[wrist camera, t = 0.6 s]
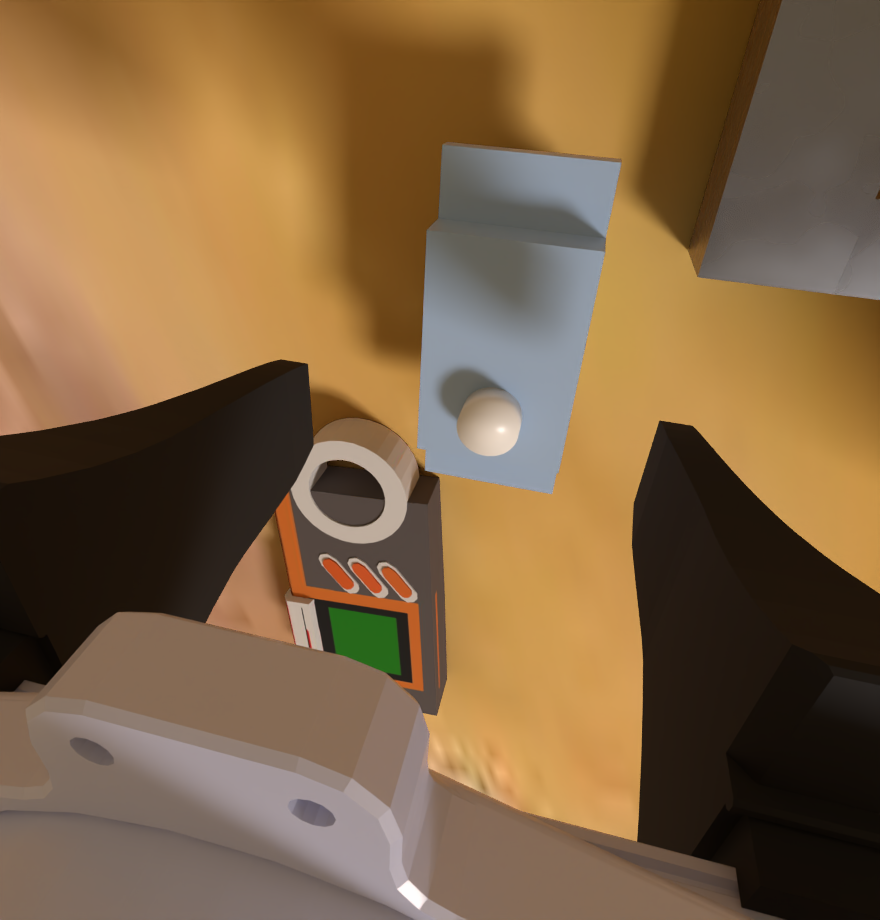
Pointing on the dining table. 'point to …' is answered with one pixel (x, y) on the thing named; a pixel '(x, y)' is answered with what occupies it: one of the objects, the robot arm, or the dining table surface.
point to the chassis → (800, 155)
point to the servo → (509, 308)
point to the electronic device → (368, 557)
